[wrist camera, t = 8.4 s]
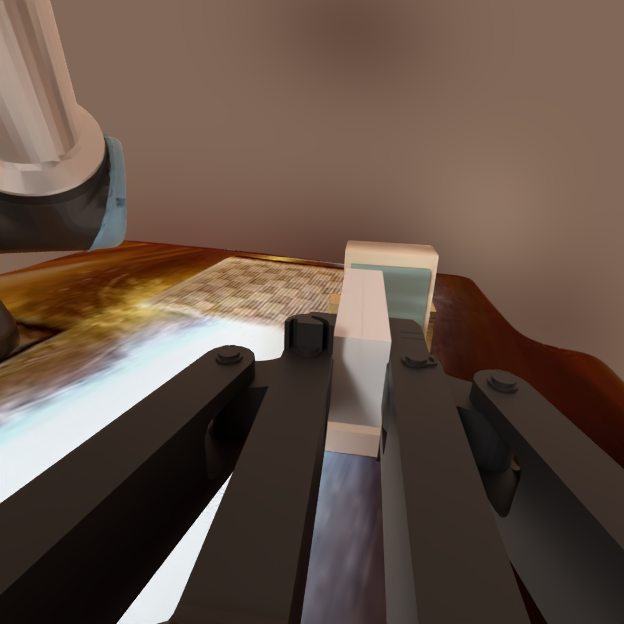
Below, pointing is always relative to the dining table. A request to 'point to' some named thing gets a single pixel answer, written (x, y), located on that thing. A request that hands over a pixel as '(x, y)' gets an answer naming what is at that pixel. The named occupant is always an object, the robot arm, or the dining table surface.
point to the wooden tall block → (399, 275)
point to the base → (353, 439)
